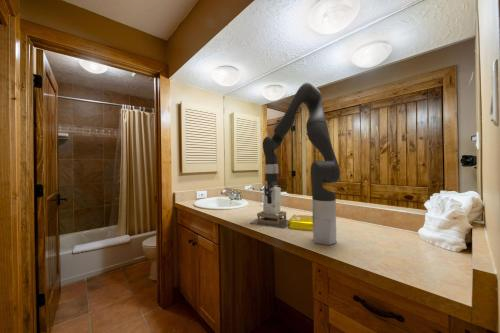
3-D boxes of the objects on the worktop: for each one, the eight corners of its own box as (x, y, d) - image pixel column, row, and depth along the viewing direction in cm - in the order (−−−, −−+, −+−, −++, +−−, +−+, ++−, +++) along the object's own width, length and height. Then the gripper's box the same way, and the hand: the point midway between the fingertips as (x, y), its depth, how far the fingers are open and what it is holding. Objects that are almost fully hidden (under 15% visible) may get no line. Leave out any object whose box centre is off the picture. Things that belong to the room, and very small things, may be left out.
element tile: (319, 232, 99) (319, 222, 99) (288, 229, 104) (287, 220, 104) (321, 224, 113) (320, 215, 113) (293, 222, 118) (293, 213, 118)
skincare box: (262, 213, 116) (262, 187, 116) (269, 211, 121) (268, 186, 121) (275, 215, 111) (274, 187, 111) (281, 213, 115) (281, 186, 115)
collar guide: (284, 228, 104) (283, 217, 104) (249, 223, 114) (249, 213, 114) (293, 221, 117) (293, 211, 117) (262, 217, 127) (261, 208, 127)
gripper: (272, 173, 108) (272, 205, 108) (282, 172, 120) (283, 201, 120) (259, 173, 112) (260, 204, 112) (270, 172, 124) (271, 200, 124)
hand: (272, 202), depth 116 cm, fingers closed on skincare box, 6 cm apart
